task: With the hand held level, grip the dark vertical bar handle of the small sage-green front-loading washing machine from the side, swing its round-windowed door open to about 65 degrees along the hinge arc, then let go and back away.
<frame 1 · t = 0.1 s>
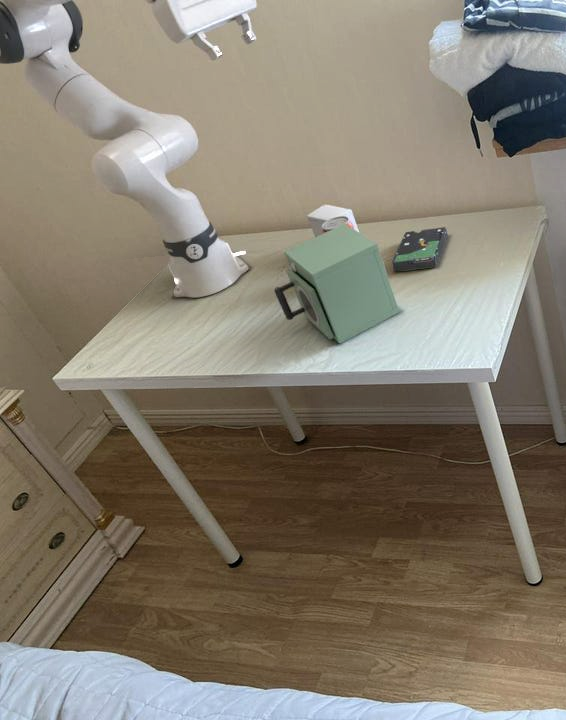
hand: (235, 50, 127), 52 cm above the table, tool tilted 20°, fingers open, 8 cm apart
cosmetics box: (342, 251, 173), on the table
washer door: (300, 308, 139), point 7 cm above the table, hinge at 0.0°
soda can: (354, 273, 162), on the table
washer: (354, 314, 146), on the table
disk drive: (422, 254, 162), on the table
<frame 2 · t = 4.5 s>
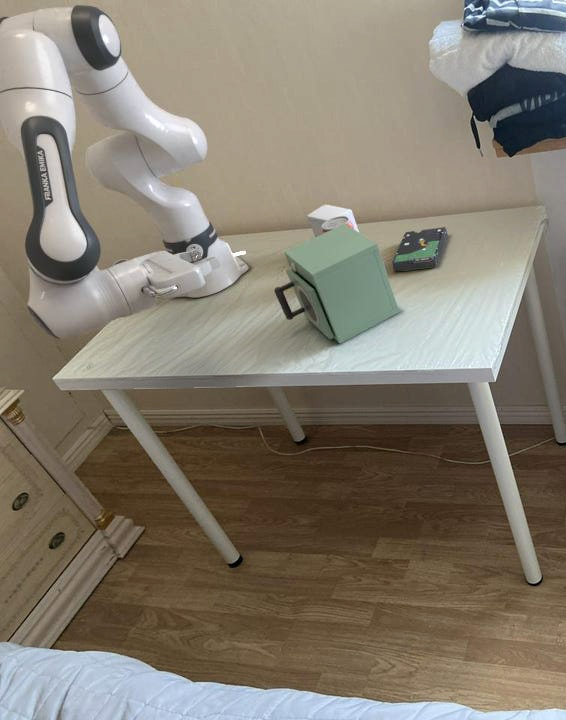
hand: (209, 257, 130), 22 cm above the table, tool horizontal, fingers open, 8 cm apart
nothing on the table moved.
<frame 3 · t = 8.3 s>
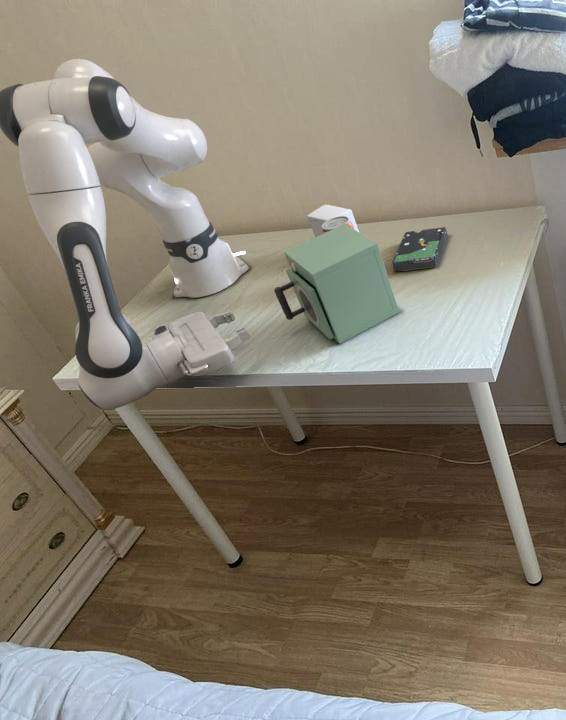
hand: (240, 323, 138), 7 cm above the table, tool horizontal, fingers open, 8 cm apart
nothing on the table moved.
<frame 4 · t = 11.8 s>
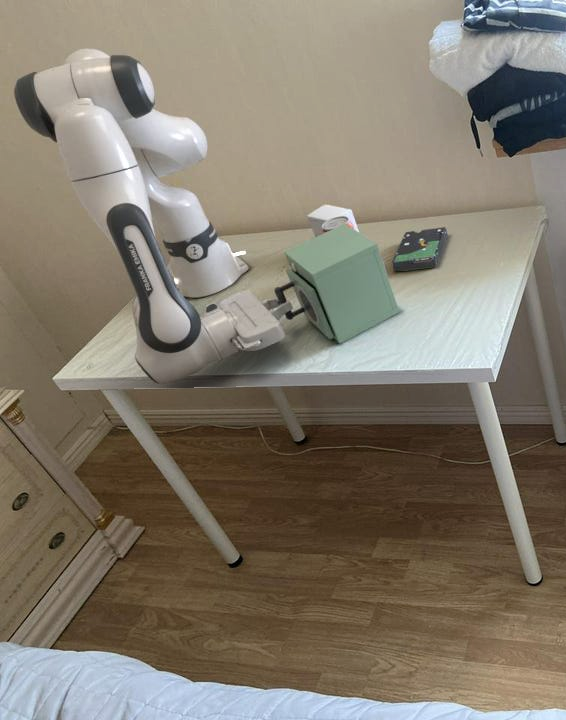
hand: (288, 301, 142), 7 cm above the table, tool horizontal, fingers closed on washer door
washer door: (300, 308, 139), point 7 cm above the table, hinge at 0.0°, touching gripper
everything else where it was.
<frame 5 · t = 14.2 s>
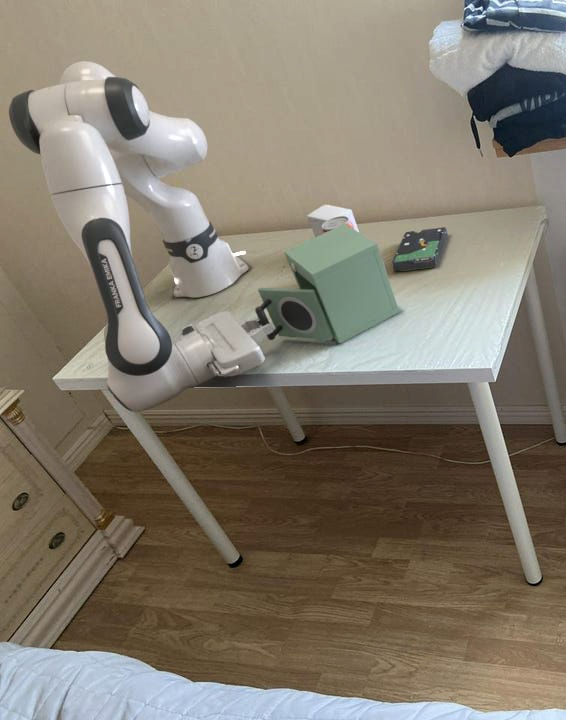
hand: (268, 323, 137), 7 cm above the table, tool horizontal, fingers closed
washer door: (290, 319, 136), point 7 cm above the table, hinge at 33.3°, touching gripper
everything else where it was.
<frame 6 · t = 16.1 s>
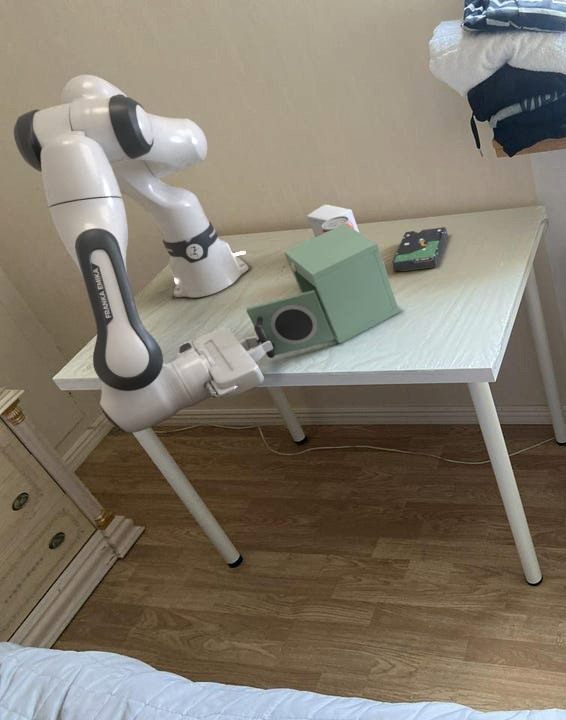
hand: (268, 340, 132), 7 cm above the table, tool horizontal, fingers closed, pressing on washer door
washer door: (290, 329, 133), point 7 cm above the table, hinge at 64.9°, touching gripper
everything else where it was.
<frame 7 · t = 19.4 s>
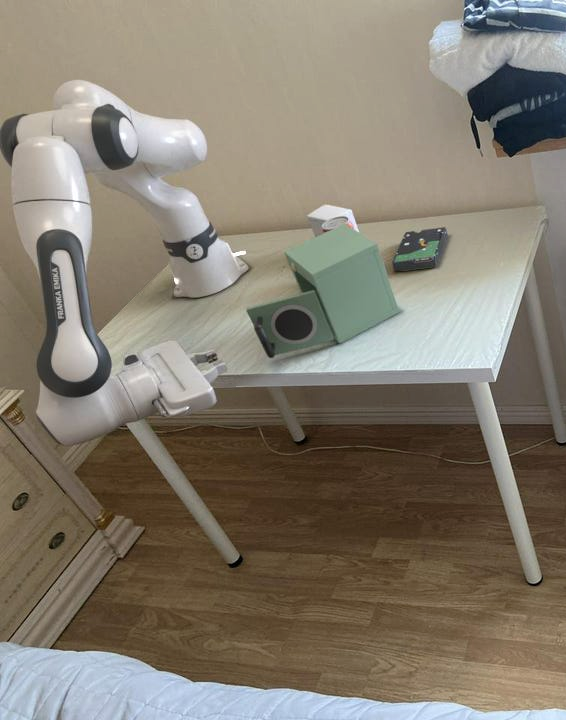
hand: (220, 359, 129), 7 cm above the table, tool horizontal, fingers open, 3 cm apart
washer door: (290, 329, 133), point 7 cm above the table, hinge at 64.9°
everything else where it was.
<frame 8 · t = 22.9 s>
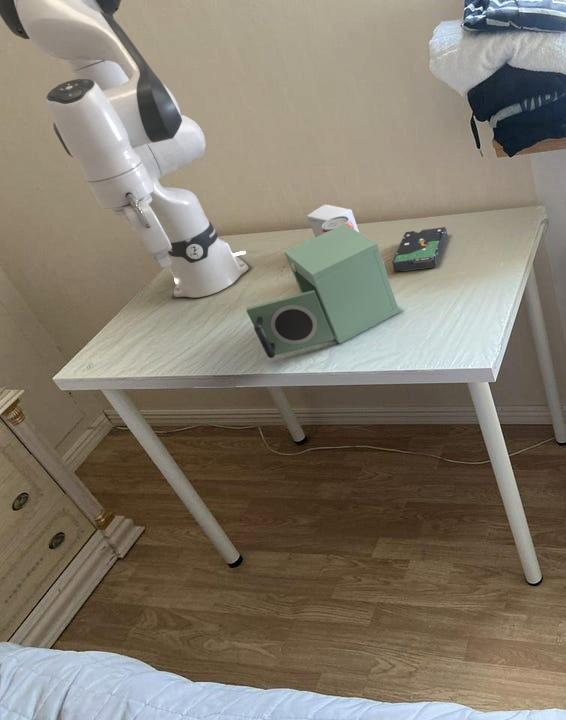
hand: (163, 261, 120), 27 cm above the table, tool pointing down, fingers open, 3 cm apart
nothing on the table moved.
at the end: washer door at +65° (first picture: +0°); the gripper is holding nothing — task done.
